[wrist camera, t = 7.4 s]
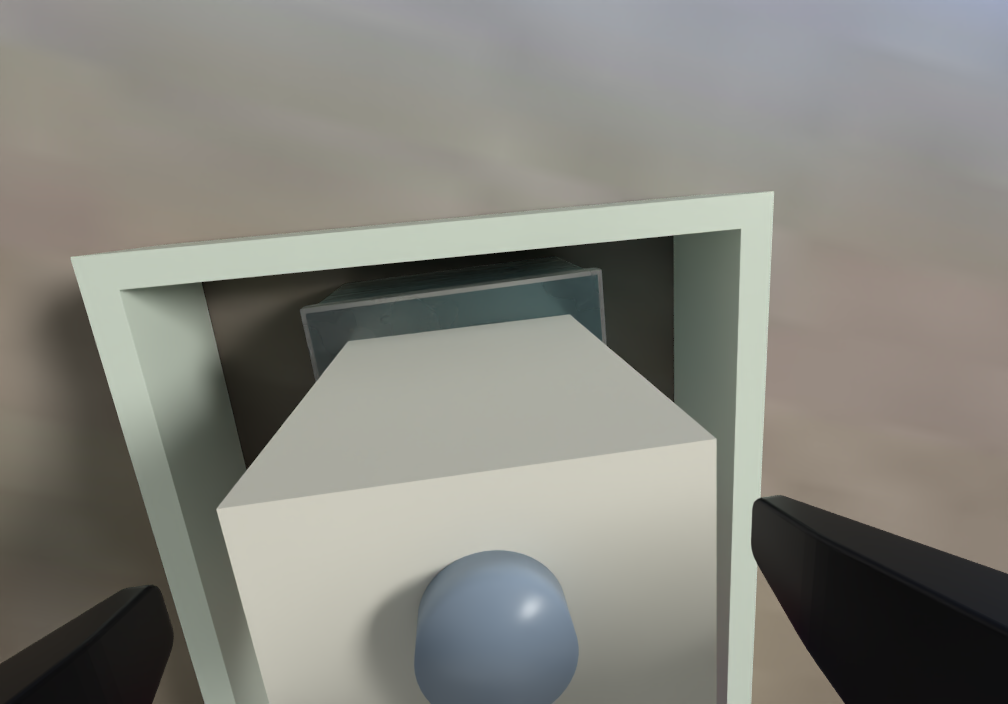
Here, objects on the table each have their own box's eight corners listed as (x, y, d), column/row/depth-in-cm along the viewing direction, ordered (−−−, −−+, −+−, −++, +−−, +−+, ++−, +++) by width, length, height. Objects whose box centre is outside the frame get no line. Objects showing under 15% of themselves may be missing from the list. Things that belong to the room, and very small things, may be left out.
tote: (693, 756, 23) (743, 866, 19) (310, 824, 22) (281, 958, 18) (698, 194, 17) (773, 191, 13) (162, 244, 15) (70, 257, 12)
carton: (583, 508, 14) (741, 856, 6) (384, 537, 13) (304, 941, 6) (569, 314, 12) (748, 465, 5) (347, 341, 12) (186, 546, 5)
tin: (574, 446, 19) (619, 527, 14) (380, 475, 18) (358, 571, 13) (556, 252, 17) (601, 269, 12) (341, 279, 16) (300, 309, 12)
